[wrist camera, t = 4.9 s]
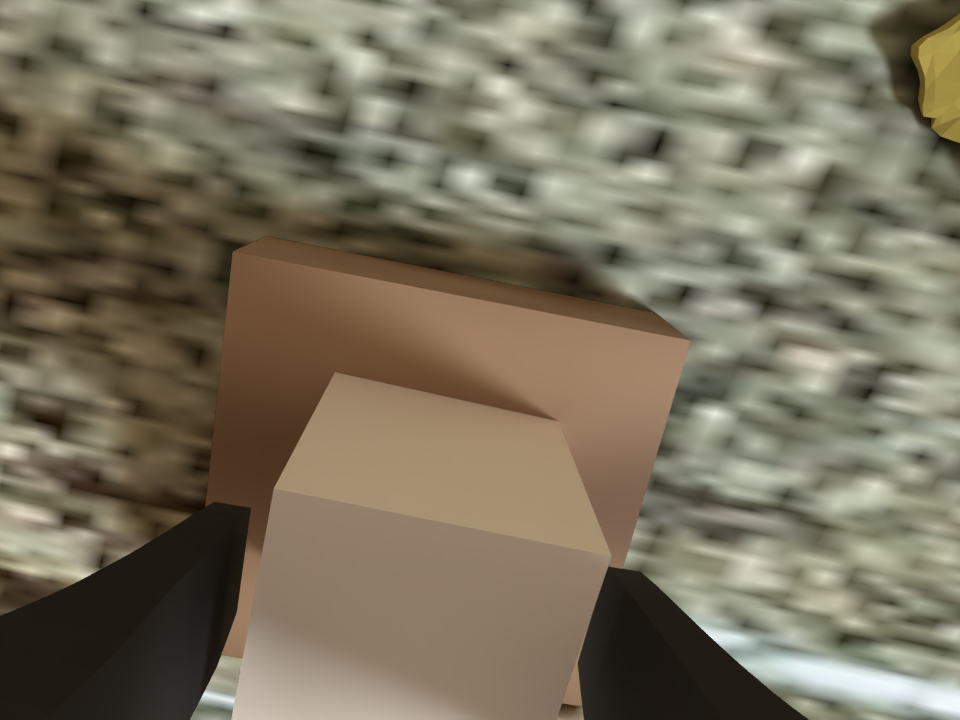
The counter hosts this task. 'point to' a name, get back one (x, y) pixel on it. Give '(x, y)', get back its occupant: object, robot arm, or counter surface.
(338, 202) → the counter surface
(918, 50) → the figurine
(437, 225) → the counter surface
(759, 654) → the counter surface
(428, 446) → the ceramic cube
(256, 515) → the walnut block
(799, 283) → the counter surface
